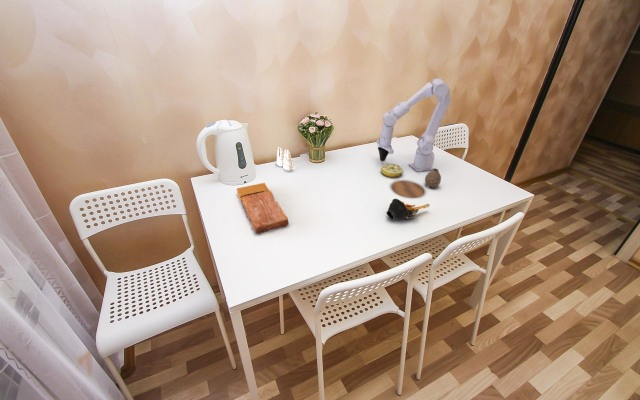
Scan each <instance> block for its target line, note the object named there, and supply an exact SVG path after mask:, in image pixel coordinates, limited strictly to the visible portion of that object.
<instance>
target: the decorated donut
mask: <svg viewBox="0 0 640 400" xmlns="http://www.w3.org/2000/svg"><path fill="white" fill-rule="evenodd" d="M380 170H381V173H382V174H383V175H384V176H386V177H388V178H397V177H400V176H401V175H402V174H403V173H404V170H403V167H401V166H400V165H398V164H397V163H386V164H383V165H382V166H381V168H380Z"/></svg>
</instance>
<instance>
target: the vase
mask: <svg viewBox="0 0 640 400" xmlns="http://www.w3.org/2000/svg"><path fill="white" fill-rule="evenodd" d="M441 181H442V176H441V174H440V171H439V169H438V168H432V170H429V172H427V174H426V175H425V178H424V183H425V185H426V187H427V188H429V189H435V188H437V187H439V185H440V184H441Z"/></svg>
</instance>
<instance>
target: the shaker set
mask: <svg viewBox="0 0 640 400" xmlns="http://www.w3.org/2000/svg"><path fill="white" fill-rule="evenodd" d="M276 166H278V167H282V168H283V169H284V170H285V171H286V172H292V171H293V170H294V169H295V168H296V167H295V164H294V160H293V158H292V155H291V152H290V149H287V148H285V149H284V150H283V148H282V147H280V146H278V147H277V153H276Z"/></svg>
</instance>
